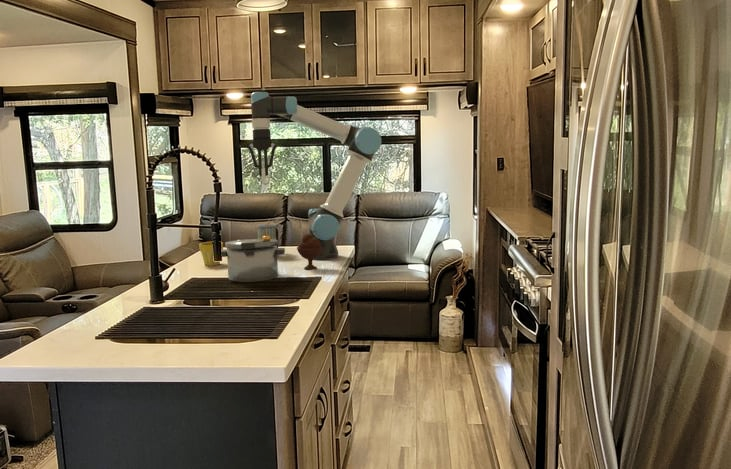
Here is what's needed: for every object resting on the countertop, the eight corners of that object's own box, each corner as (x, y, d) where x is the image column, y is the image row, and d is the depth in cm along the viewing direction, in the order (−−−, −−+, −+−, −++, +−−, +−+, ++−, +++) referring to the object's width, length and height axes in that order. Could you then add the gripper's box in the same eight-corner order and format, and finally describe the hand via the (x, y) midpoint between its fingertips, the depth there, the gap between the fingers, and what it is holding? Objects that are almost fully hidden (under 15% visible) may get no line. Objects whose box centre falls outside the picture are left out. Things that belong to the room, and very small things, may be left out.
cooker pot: (286, 270, 261) (285, 242, 259) (283, 280, 241) (282, 250, 240) (225, 272, 260) (223, 244, 258) (216, 283, 240) (215, 252, 238)
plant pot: (220, 266, 274) (219, 244, 272) (197, 266, 274) (196, 245, 273) (226, 262, 284) (225, 241, 283) (204, 262, 284) (202, 241, 283)
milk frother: (275, 257, 292) (274, 226, 290) (242, 258, 293) (241, 227, 291) (281, 252, 306) (279, 223, 304) (249, 253, 307) (248, 223, 305)
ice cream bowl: (293, 270, 260) (291, 235, 258) (305, 265, 270) (304, 231, 268) (315, 271, 256) (314, 236, 254) (327, 266, 266) (326, 232, 264)
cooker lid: (279, 241, 260) (279, 233, 260) (275, 248, 237) (274, 238, 236) (229, 243, 259) (229, 235, 259) (220, 250, 235) (219, 240, 235)
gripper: (277, 128, 268) (279, 182, 272) (247, 129, 267) (250, 183, 271) (275, 128, 261) (278, 183, 264) (245, 129, 260) (248, 184, 263)
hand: (264, 183), depth 267 cm, fingers closed
